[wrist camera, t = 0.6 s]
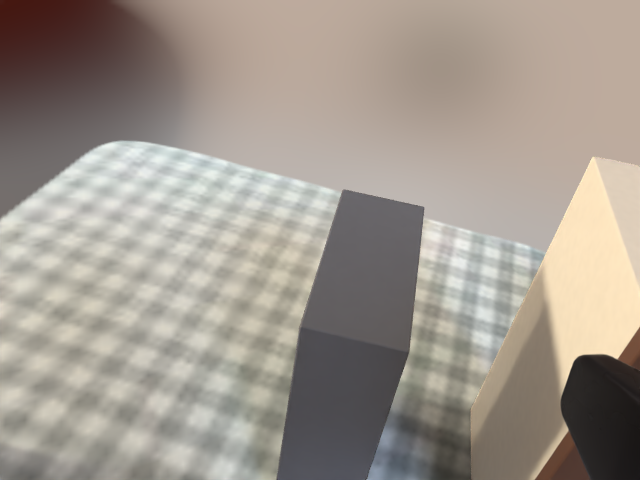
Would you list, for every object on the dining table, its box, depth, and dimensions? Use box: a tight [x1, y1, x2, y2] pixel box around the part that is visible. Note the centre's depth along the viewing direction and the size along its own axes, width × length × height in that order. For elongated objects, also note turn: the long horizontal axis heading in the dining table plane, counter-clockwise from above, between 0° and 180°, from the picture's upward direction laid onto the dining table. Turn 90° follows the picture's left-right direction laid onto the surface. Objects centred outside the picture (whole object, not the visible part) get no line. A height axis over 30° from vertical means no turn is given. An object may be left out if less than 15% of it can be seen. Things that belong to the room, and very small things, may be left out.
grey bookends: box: [277, 190, 424, 480], centre depth 21 cm, size 7×18×11 cm, turn 79°
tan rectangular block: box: [471, 156, 640, 480], centre depth 20 cm, size 8×2×14 cm, turn 169°
